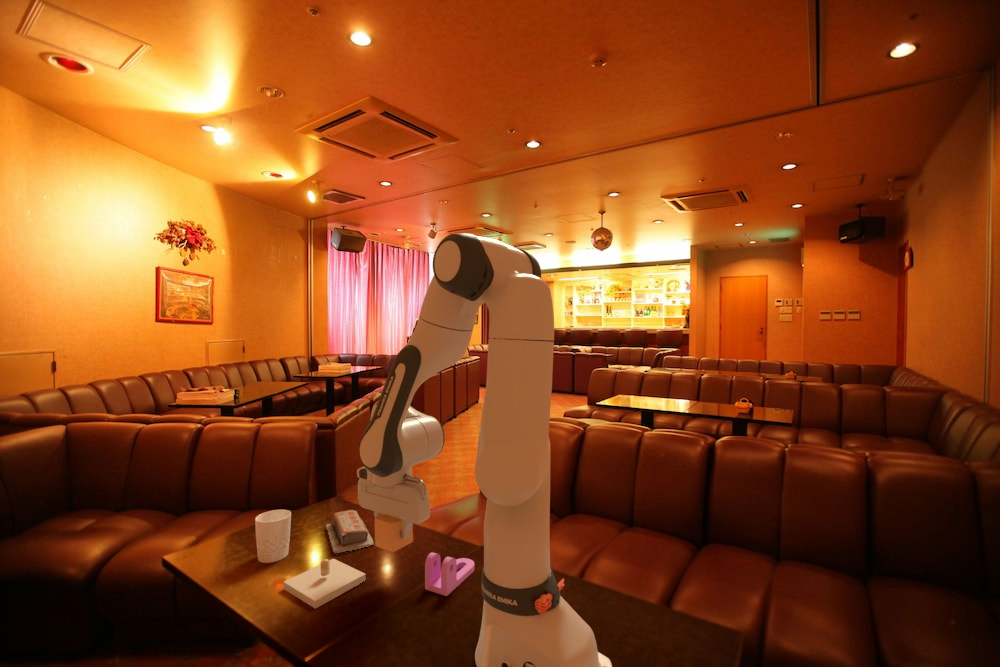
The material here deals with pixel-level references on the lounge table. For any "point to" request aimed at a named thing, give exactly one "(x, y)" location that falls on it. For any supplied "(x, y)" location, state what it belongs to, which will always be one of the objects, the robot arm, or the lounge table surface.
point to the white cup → (273, 535)
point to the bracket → (446, 573)
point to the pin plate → (324, 582)
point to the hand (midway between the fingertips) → (394, 534)
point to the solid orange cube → (390, 533)
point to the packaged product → (348, 532)
